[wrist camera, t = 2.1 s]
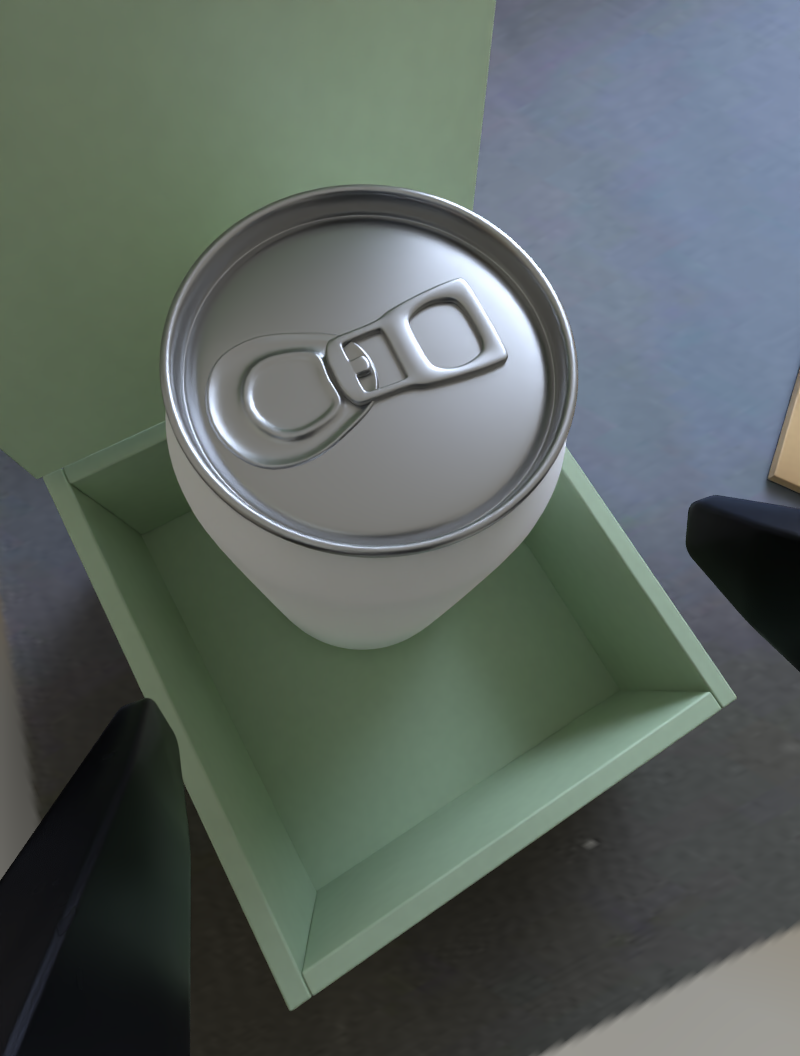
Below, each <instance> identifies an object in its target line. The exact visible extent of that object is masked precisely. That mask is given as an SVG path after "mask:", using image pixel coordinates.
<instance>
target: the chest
mask: <svg viewBox="0 0 800 1056" xmlns="http://www.w3.org/2000/svg"><path fill="white" fill-rule="evenodd" d="M43 479H44V482H45V484H46V486H47V488H48V490H49V492H50V494H51V497H52V499H53V501H54V503H55V505H56V507H57V510H58V512H59V514H60V516H61V518H62V520H63V523H64V525H65V527H66V529H67V531H68V533H69V536H70V538H71V540H72V542H73V544H74V546H75V549H76V551H77V553H78V555H79V557H80V559H81V561H82V564H83V566H84V568H85V570H86V572H87V574H88V577H89V579H90V581H91V583H92V585H93V587H94V590H95V592H96V594H97V596H98V598H99V600H100V603H101V605H102V607H103V609H104V611H105V613H106V615H107V618H108V620H109V622H110V624H111V626H112V628H113V631H114V633H115V635H116V637H117V639H118V641H119V644H120V646H121V648H122V650H123V652H124V654H125V657H126V659H127V661H128V663H129V665H130V667H131V670H132V672H133V674H134V676H135V678H136V680H137V682H138V685H139V687H140V689H141V691H142V693H143V695H144V698H150V699H152V700H154V701H155V702H156V704H157V705H158V707H159V709H160V710H161V712H162V714H163V715H164V717H165V718H166V720H167V722H168V723H169V725H170V727H171V728H172V730H173V732H174V733H175V736H176V738H177V741H178V746H179V752H180V761H181V769H182V778H183V782H184V784H185V786H186V788H187V791H188V793H189V795H190V797H191V799H192V801H193V803H194V806H195V808H196V810H197V812H198V814H199V816H200V819H201V821H202V823H203V825H204V827H205V829H206V832H207V834H208V836H209V838H210V840H211V842H212V845H213V847H214V849H215V851H216V853H217V855H218V858H219V860H220V862H221V864H222V866H223V868H224V870H225V873H226V875H227V877H228V879H229V881H230V883H231V886H232V888H233V890H234V892H235V894H236V896H237V899H238V901H239V903H240V905H241V907H242V909H243V912H244V914H245V916H246V918H247V920H248V922H249V925H250V927H251V929H252V931H253V933H254V935H255V937H256V940H257V942H258V944H259V946H260V948H261V950H262V953H263V955H264V957H265V959H266V961H267V963H268V966H269V968H270V970H271V972H272V974H273V976H274V979H275V981H276V983H277V985H278V987H279V989H280V991H281V994H282V996H283V998H284V1000H285V1002H286V1004H287V1007H288V1009H289V1010H290V1011H293V1010H294V1009H296V1008H297V1007H299V1006H300V1005H301V1004H303V1003H304V1002H306V1001H307V1000H309V999H310V997H311V994H312V995H316V994H317V993H318V992H320V991H321V990H323V989H324V988H326V987H327V986H328V985H330V984H331V983H333V982H334V981H336V980H337V979H338V978H340V977H341V976H343V975H344V974H346V973H347V972H348V971H350V970H351V969H353V968H354V967H356V966H357V965H358V964H360V963H361V962H363V961H364V960H365V959H367V958H368V957H370V956H371V955H373V954H374V953H375V952H377V951H378V950H380V949H381V948H383V947H384V946H385V945H387V944H388V943H390V942H391V941H393V940H394V939H395V938H397V937H398V936H400V935H401V934H403V933H404V932H405V931H407V930H408V929H410V928H411V927H412V926H414V925H415V924H417V923H418V922H420V921H421V920H422V919H424V918H425V917H427V916H428V915H430V914H431V913H432V912H434V911H435V910H437V909H438V908H440V907H441V906H442V905H444V904H445V903H447V902H448V901H449V900H451V899H452V898H454V897H455V896H457V895H458V894H459V893H461V892H462V891H464V890H465V889H467V888H468V887H469V886H471V885H472V884H474V883H475V882H477V881H478V880H479V879H481V878H482V877H484V876H485V875H487V874H488V873H489V872H491V871H492V870H494V869H495V868H496V867H498V866H499V865H501V864H502V863H504V862H505V861H506V860H508V859H509V858H511V857H512V856H514V855H515V854H516V853H518V852H519V851H521V850H522V849H524V848H525V847H526V846H528V845H529V844H531V843H532V842H533V841H535V840H536V839H538V838H539V837H541V836H542V835H543V834H545V833H546V832H548V831H549V830H551V829H552V828H553V827H555V826H556V825H558V824H559V823H561V822H562V821H563V820H565V819H566V818H568V817H569V816H571V815H572V814H573V813H575V812H576V811H578V810H579V809H580V808H582V807H583V806H585V805H586V804H588V803H589V802H590V801H592V800H593V799H595V798H596V797H598V796H599V795H600V794H602V793H603V792H605V791H606V790H608V789H609V788H610V787H612V786H613V785H615V784H616V783H617V782H619V781H620V780H622V779H623V778H625V777H626V776H627V775H629V774H630V773H632V772H633V771H635V770H636V769H637V768H639V767H640V766H642V765H643V764H645V763H646V762H647V761H649V760H650V759H652V758H653V757H655V756H656V755H657V754H659V753H660V752H662V751H663V750H664V749H666V748H667V747H669V746H670V745H672V744H673V743H674V742H676V741H677V740H679V739H680V738H682V737H683V736H684V735H686V734H687V733H689V732H690V731H692V730H693V729H694V728H696V727H697V726H699V725H700V724H701V723H703V722H704V721H706V720H707V719H709V718H710V717H711V716H713V715H714V714H716V713H717V712H719V711H720V710H721V708H724V707H726V706H727V705H729V704H730V703H731V702H733V701H734V700H736V698H737V697H736V695H735V694H734V692H733V691H732V689H731V688H730V686H729V685H728V683H727V682H726V681H725V679H724V678H723V676H722V675H721V673H720V672H719V670H718V669H717V667H716V666H715V664H714V663H713V662H712V660H711V659H710V657H709V656H708V654H707V653H706V651H705V650H704V648H703V647H702V645H701V644H700V642H699V641H698V640H697V638H696V637H695V635H694V634H693V632H692V631H691V629H690V628H689V626H688V625H687V623H686V622H685V620H684V619H683V618H682V616H681V615H680V613H679V612H678V610H677V609H676V607H675V606H674V604H673V603H672V601H671V600H670V598H669V597H668V596H667V594H666V593H665V591H664V590H663V588H662V587H661V585H660V584H659V582H658V581H657V579H656V578H655V576H654V575H653V574H652V572H651V571H650V569H649V568H648V566H647V565H646V563H645V562H644V560H643V559H642V557H641V556H640V554H639V553H638V552H637V550H636V549H635V547H634V546H633V544H632V543H631V541H630V540H629V538H628V537H627V535H626V534H625V532H624V531H623V530H622V528H621V527H620V525H619V524H618V522H617V521H616V519H615V518H614V516H613V515H612V513H611V512H610V510H609V509H608V508H607V506H606V505H605V503H604V502H603V500H602V499H601V497H600V496H599V494H598V493H597V491H596V490H595V488H594V487H593V486H592V484H591V483H590V481H589V480H588V478H587V477H586V475H585V474H584V472H583V471H582V469H581V468H580V467H579V465H578V464H577V462H576V461H575V459H574V458H573V456H572V455H571V453H570V452H569V450H568V449H567V447H565V454H564V459H563V464H562V468H561V472H560V475H559V478H558V481H557V484H556V486H555V489H554V491H553V494H552V496H551V498H550V500H549V502H548V504H547V506H546V508H545V509H544V511H543V513H542V515H541V516H540V518H539V519H538V521H537V522H536V524H535V526H534V527H533V529H532V530H531V531H530V533H529V534H528V535H527V537H526V538H525V539H524V540H523V541H522V543H521V544H520V545H519V546H518V547H517V548H516V549H515V550H514V551H513V552H512V553H511V554H510V555H509V556H508V557H507V558H506V559H505V560H504V561H503V562H502V563H501V564H500V565H499V566H498V567H497V568H496V569H495V570H494V571H493V572H491V573H490V574H489V575H488V576H487V577H486V578H485V579H484V580H482V581H481V582H480V583H479V584H478V585H477V586H476V587H474V588H473V589H472V590H471V591H470V592H469V593H467V594H466V595H465V596H464V597H463V598H461V599H460V600H459V601H458V602H457V603H456V604H454V605H453V606H452V607H451V608H450V609H448V610H447V611H446V612H445V613H444V614H442V615H441V616H440V617H439V618H437V619H436V620H435V621H434V622H432V623H431V624H430V625H429V626H427V627H426V628H425V629H423V630H422V631H420V632H419V633H417V634H416V635H414V636H412V637H410V638H408V639H407V640H404V641H402V642H400V643H397V644H394V645H391V646H388V647H383V648H378V649H369V650H355V649H346V648H340V647H336V646H333V645H330V644H327V643H324V642H322V641H319V640H317V639H315V638H313V637H312V636H310V635H308V634H307V633H305V632H304V631H302V630H301V629H300V628H298V627H297V626H296V625H295V624H293V623H292V622H291V621H290V620H289V619H288V618H287V617H286V616H285V615H284V614H283V613H282V612H281V611H280V610H279V609H278V608H277V607H276V606H275V605H274V604H273V603H272V602H271V601H270V600H269V599H268V598H267V597H266V596H265V595H264V594H263V593H262V592H261V591H260V590H259V589H258V588H257V587H256V586H255V585H254V584H253V583H252V582H251V581H250V580H249V579H248V578H247V577H246V576H245V575H244V573H243V572H242V571H241V570H240V569H239V568H238V567H237V566H236V565H235V564H234V563H233V562H232V561H231V560H230V559H229V558H228V556H227V555H226V554H225V553H224V552H223V551H222V550H221V549H220V548H219V546H218V545H217V544H216V543H215V542H214V540H213V539H212V538H211V537H210V535H209V534H208V533H207V532H206V530H205V529H204V528H203V526H202V525H201V524H200V522H199V521H198V519H197V517H196V516H195V514H194V513H193V511H192V509H191V507H190V506H189V504H188V502H187V500H186V498H185V496H184V494H183V492H182V490H181V487H180V485H179V483H178V480H177V478H176V475H175V472H174V469H173V466H172V462H171V458H170V454H169V449H168V443H167V436H166V420H165V421H163V422H161V423H159V424H157V425H155V426H152V427H150V428H148V429H146V430H144V431H141V432H139V433H137V434H135V435H133V436H131V437H128V438H126V439H124V440H122V441H120V442H117V443H115V444H113V445H111V446H109V447H107V448H104V449H102V450H100V451H98V452H96V453H93V454H91V455H89V456H87V457H85V458H83V459H80V460H78V461H76V462H74V463H72V464H69V465H67V466H65V467H64V468H63V469H59V470H56V471H54V472H52V473H50V474H48V475H45V476H44V477H43Z"/></svg>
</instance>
